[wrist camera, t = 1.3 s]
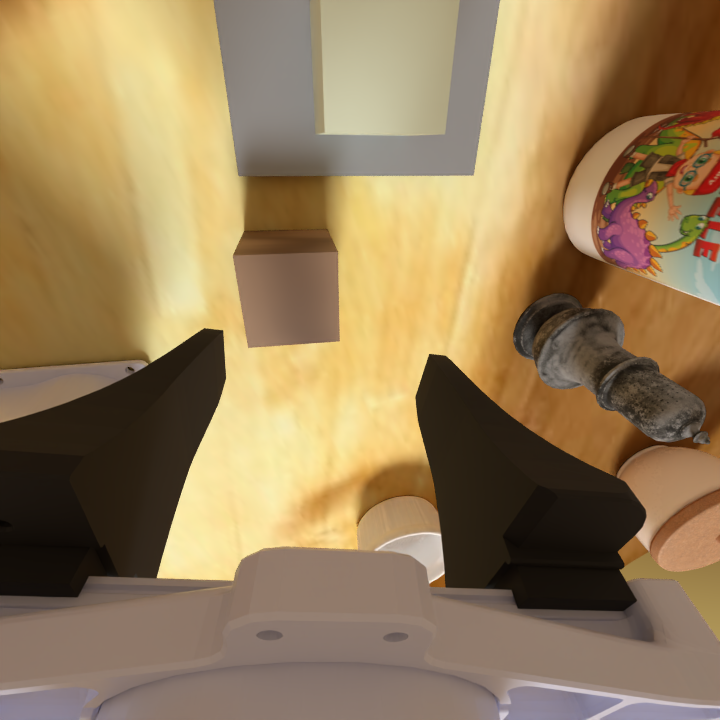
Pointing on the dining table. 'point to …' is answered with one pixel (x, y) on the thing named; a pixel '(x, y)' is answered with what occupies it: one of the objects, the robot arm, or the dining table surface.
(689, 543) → the lidded jar
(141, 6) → the dining table surface
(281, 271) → the walnut block
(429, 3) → the sage block
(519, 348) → the grey chess piece
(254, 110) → the plate
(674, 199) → the milk bottle
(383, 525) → the ramekin
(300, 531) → the dining table surface
